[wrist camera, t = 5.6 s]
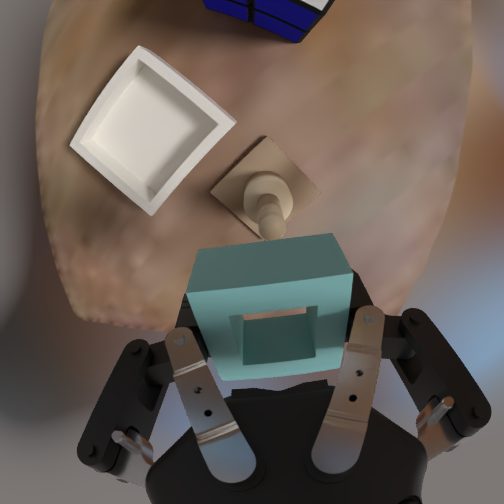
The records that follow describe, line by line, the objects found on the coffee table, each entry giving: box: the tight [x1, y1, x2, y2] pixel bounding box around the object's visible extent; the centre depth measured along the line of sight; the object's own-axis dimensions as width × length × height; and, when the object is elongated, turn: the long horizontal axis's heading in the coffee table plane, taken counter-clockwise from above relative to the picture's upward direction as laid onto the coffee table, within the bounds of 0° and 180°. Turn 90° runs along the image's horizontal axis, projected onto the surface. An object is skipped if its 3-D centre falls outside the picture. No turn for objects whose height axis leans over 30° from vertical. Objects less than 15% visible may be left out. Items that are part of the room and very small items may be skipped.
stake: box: [210, 136, 321, 241], centre depth 24 cm, size 8×8×9 cm
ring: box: [186, 233, 353, 381], centre depth 13 cm, size 7×6×3 cm
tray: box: [70, 45, 237, 217], centre depth 22 cm, size 12×12×3 cm
